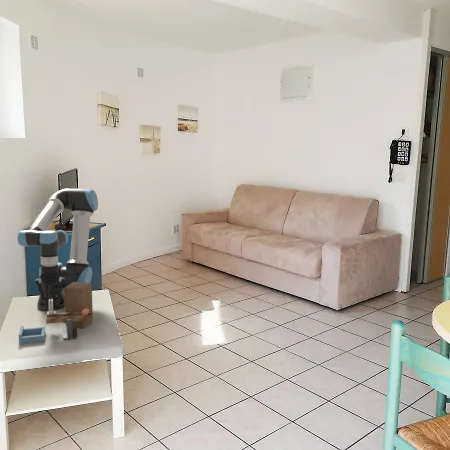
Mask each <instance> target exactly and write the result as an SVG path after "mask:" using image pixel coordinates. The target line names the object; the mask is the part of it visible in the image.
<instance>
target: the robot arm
mask: <svg viewBox="0 0 450 450" xmlns="http://www.w3.org/2000/svg"><path fill="white" fill-rule="evenodd" d="M98 207H99V199H98V196H97V193H96V191H95V190H94V189H92V188H91V189H90V188H63V189H60V190H58V191H56V192H54V193H53V194H52V195H50V197H48V198H47V200H46V201H45V206H44V207H43V209H42V210H41V212H39V215H38V216H37V217H36V218H35V220H34V221H33V222H32V224H31V225H30V227H29V228H28V229H27V230H25V229H24V230H20V231H19V232H18V234H17V243H18V245H19V246H20V247H26V248H27V247H33V248H34V247H37V248H39V249H40V250H39V251H40V267H39V269H38V270H39V271H38V277H39V278H36V279H35V280H34V283H35V284H36V285H37V288H38V291H39V296H38V299H37V304H36V305H37V309H38V310H39V311H44V312H47V311H49V314H53V311H58V310H62V309H65V298H64V288H65V287H66V286H68V285H70V284H71V283H73V282H81V283H91V281H92V278H93V269H92V267H91V266H90V264H89V262H88V259H87V258H88V246H89V235H90V226H91V217H92V216H93V215H94V214H95V213H94V212H95V211H97V210H98ZM66 210H67V211H68V210H69V211H70V210H71V211H70V212H71V214H72V216H73V221H72V222H73V223H72V234H71V244H70V252H69V260H67V262H66V265H65V266H64V265H63V263H62V262H59V249H60V248H62V247H63V246H65V245H66V244H67V243H68V241H69V236H68V235H69V234H68V233H67V232H66V231H65V230H62V229H59V230H49V228H50V227H51V225H52V224H53V222H54V221H55V219H56V218H57V217H58V215H59V214H61V213H63V211H66Z"/></svg>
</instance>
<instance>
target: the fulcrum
mask: <svg viewBox="0 0 450 450" xmlns="http://www.w3.org/2000/svg"><path fill="white" fill-rule="evenodd" d="M67 313H71V312H67ZM62 337H63V339H62V340H63V341H69V340H77V339H78V329H77V328H76V327H73V322H72V319H67V326H66V328H63V331H62Z"/></svg>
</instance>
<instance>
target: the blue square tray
mask: <svg viewBox="0 0 450 450" xmlns="http://www.w3.org/2000/svg"><path fill="white" fill-rule="evenodd" d="M45 338H46V326H39V327H28V328H26V327H24V325H20V328H19V331H18V345H19V346H20V345H28V344H36V343H37V344H38V343H45Z"/></svg>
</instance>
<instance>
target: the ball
mask: <svg viewBox="0 0 450 450" xmlns="http://www.w3.org/2000/svg"><path fill="white" fill-rule="evenodd" d="M89 314H90V311H89V309H83V310H82V315H83V316H85V315H89Z"/></svg>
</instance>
